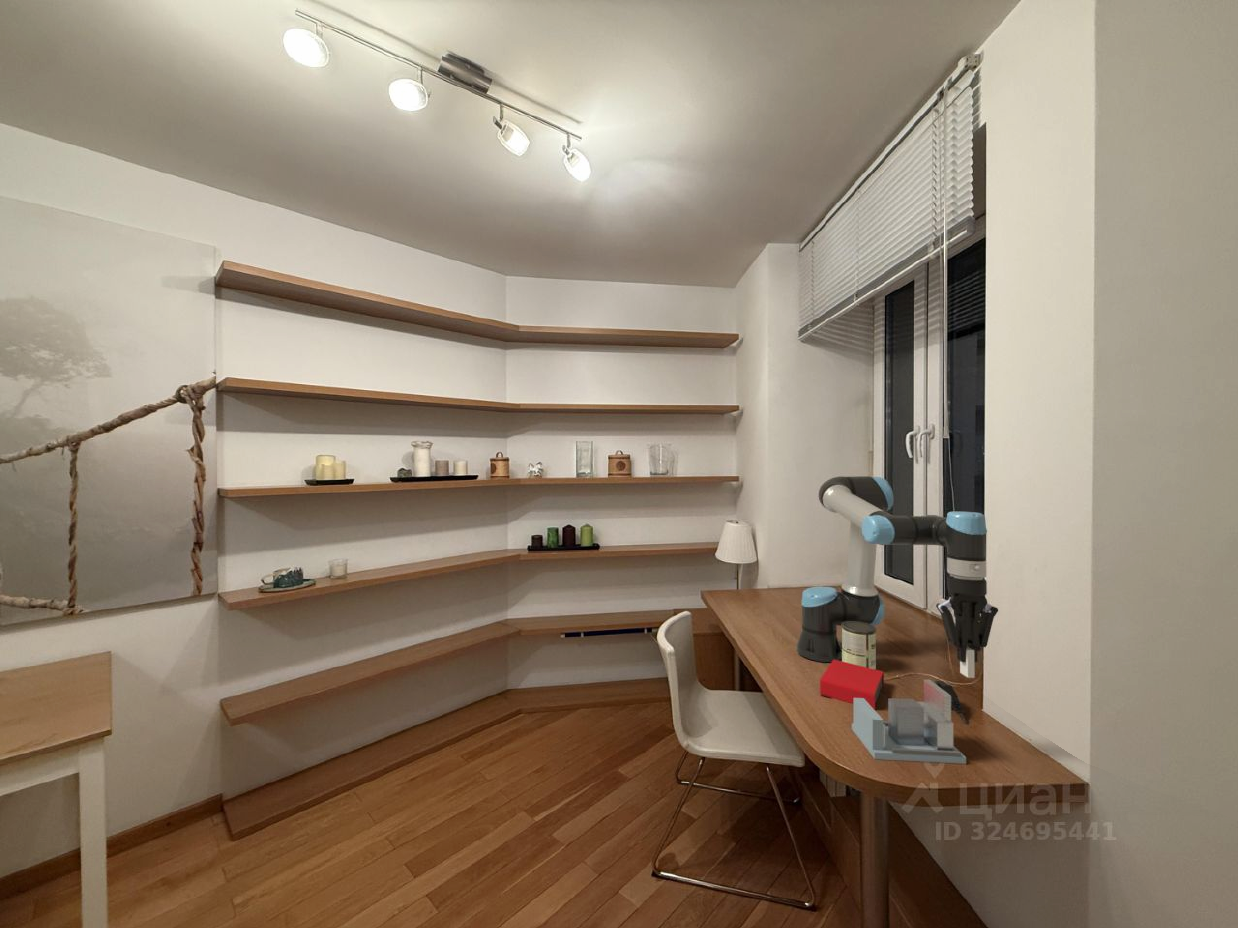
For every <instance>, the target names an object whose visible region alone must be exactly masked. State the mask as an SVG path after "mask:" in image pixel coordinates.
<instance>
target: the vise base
mask: <svg viewBox="0 0 1238 928" xmlns="http://www.w3.org/2000/svg"><path fill="white" fill-rule="evenodd" d="M851 730H852V731H853V733H854V735H856V737H857V738H858V739H859V740H860V742H861V744H863V746H864V747H865V749H866V750H867V751H868V752H869V755H871V757H872V758H873V759H874V760H884V761H885V760H887V761H903V762H904V761H905V762H925V763H926V762H927V763H944V764H945V763H946V764H962V765H967V757H966V756H965V755H964V754H963V753H962V752H961V751H960V750H959V749H958V748H957V747H956V746H955V745H953V751H942V750H936V749H935V748H934V747H933V746H932V745H931V744H930V743H929V742H928V741H927V740H926V739H925V738H924V746H915V745H897V744H896V743H895V741H894V740H893V739H892V738H891V737H890V736H889V735H888V721H885V720H884V719H883V717H882V716H881V715H880V714H879V713H878V712H877V711H876V709H875V710H874V709H873V708H872V707H871V706H870V705H869V703H868V702H867V701H866V700H865V699H864V698H854V704H853V722H851Z"/></svg>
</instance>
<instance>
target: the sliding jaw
mask: <svg viewBox="0 0 1238 928" xmlns="http://www.w3.org/2000/svg"><path fill="white" fill-rule="evenodd" d="M934 682H935V681H932V680H931V679H924V678H923V701H917V702H918V703H919V704H920V705H921V706H923V707H924V738H925V739H926V740H927V741H928V742H929V743H930V744H931V745H932V746H933V747H934V748H935V749H936V750H942V751H953V746H954V723H953V722H952V706H951V695H949V694H948V693H947V692H945V691H944V690H943V689H941V688H940V687H939V686H937V685H936V684H935V683H934Z"/></svg>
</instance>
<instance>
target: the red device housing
mask: <svg viewBox="0 0 1238 928" xmlns="http://www.w3.org/2000/svg"><path fill="white" fill-rule="evenodd" d="M882 687H885V672H884V671H882V670H879V669H876V670H875V669H871V668H867V667H863V666H858V665H854V664H850V663H846V662H842V660H839V661H838V660H833V661H832V662H830V664H829V665H828V667H827V668H826V670H825V672H824V673H823V674H822V676H821V677H820V680H819V695H820V696H824V697H827V698H832V699H835V700H839V701H842V702H846V703H849V704H852V705H854V698H864V699H865V700H866V701H867V702H868V703H869V705H870V706H871V707H872V708H873V709H874V710H875V711H876V703H877V700H878V697H879V696H880V692H881V690H882Z"/></svg>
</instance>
